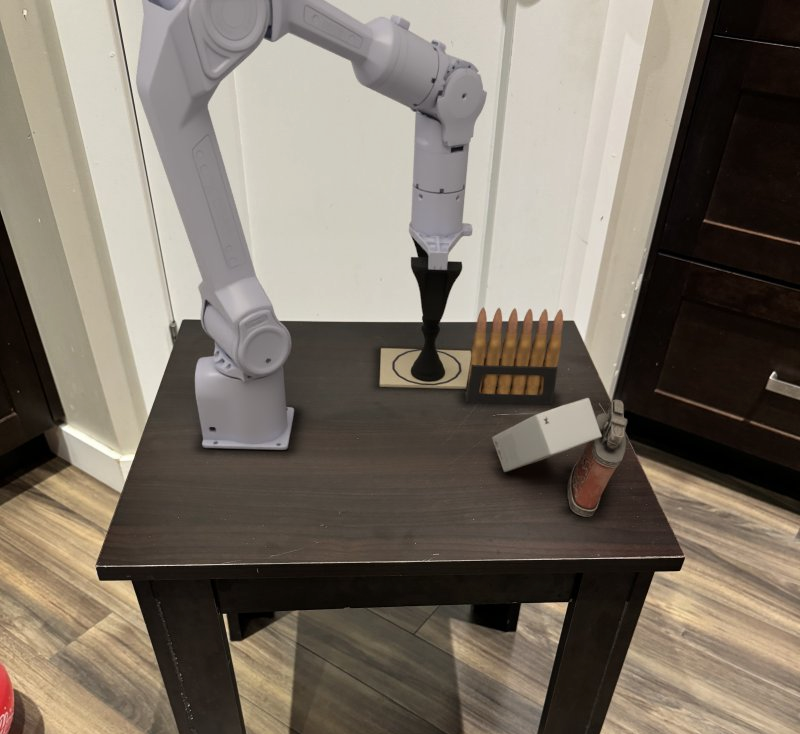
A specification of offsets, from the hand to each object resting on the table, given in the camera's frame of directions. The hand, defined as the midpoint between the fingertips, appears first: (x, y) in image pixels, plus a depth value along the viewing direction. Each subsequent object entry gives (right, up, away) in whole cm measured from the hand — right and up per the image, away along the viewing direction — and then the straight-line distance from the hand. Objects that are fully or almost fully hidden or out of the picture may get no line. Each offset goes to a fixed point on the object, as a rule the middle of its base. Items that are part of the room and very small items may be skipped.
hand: (431, 303), depth 92 cm
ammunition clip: (+10, -11, +3) cm, 15 cm away
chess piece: (0, -7, +7) cm, 10 cm away
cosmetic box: (+10, -18, -7) cm, 22 cm away
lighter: (+16, -23, -10) cm, 30 cm away
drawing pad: (0, -6, +8) cm, 10 cm away
